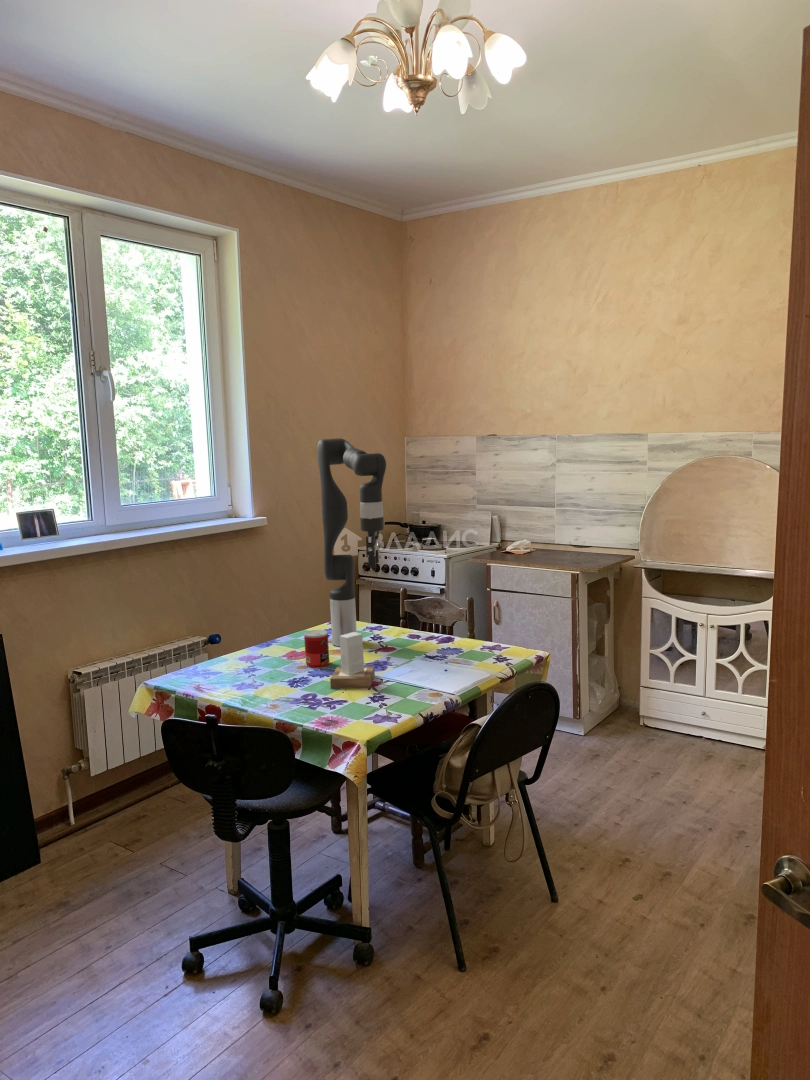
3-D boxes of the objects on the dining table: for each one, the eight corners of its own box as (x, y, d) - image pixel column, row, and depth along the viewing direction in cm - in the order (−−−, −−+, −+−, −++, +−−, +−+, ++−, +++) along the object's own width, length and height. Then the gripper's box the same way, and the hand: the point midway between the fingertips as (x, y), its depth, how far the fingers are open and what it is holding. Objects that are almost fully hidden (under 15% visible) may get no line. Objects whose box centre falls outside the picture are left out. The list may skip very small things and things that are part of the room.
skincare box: (356, 668, 235) (354, 631, 233) (364, 671, 232) (362, 633, 230) (340, 672, 231) (338, 635, 229) (349, 675, 228) (347, 637, 226)
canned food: (325, 668, 247) (323, 636, 245) (302, 667, 248) (300, 635, 247) (332, 661, 254) (330, 630, 252) (310, 660, 256) (308, 629, 254)
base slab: (337, 675, 238) (337, 666, 238) (374, 675, 237) (374, 665, 237) (330, 688, 227) (330, 678, 226) (369, 688, 226) (369, 678, 225)
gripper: (363, 513, 247) (365, 561, 249) (356, 518, 233) (359, 569, 235) (385, 513, 246) (387, 561, 248) (380, 518, 232) (382, 569, 234)
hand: (373, 565), depth 241 cm, fingers open, 8 cm apart
